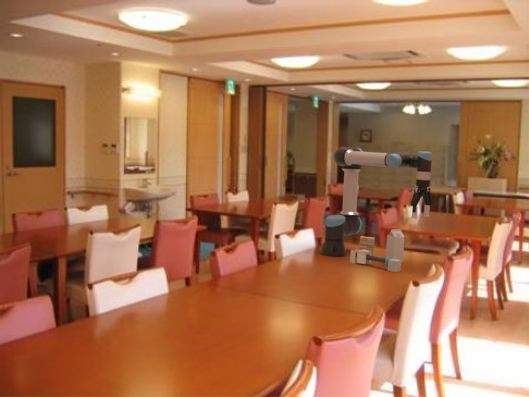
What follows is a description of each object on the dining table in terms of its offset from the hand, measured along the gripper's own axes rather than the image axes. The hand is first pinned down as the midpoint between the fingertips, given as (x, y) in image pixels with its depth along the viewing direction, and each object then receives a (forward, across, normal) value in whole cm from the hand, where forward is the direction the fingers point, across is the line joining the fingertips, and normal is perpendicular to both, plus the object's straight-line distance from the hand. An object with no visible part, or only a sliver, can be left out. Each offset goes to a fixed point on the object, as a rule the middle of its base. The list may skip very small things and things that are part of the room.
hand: (420, 217), depth 316 cm
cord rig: (+28, -22, +14) cm, 38 cm away
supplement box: (+28, -8, +29) cm, 41 cm away
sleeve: (+27, -22, +21) cm, 40 cm away
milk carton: (+28, 0, +15) cm, 32 cm away
